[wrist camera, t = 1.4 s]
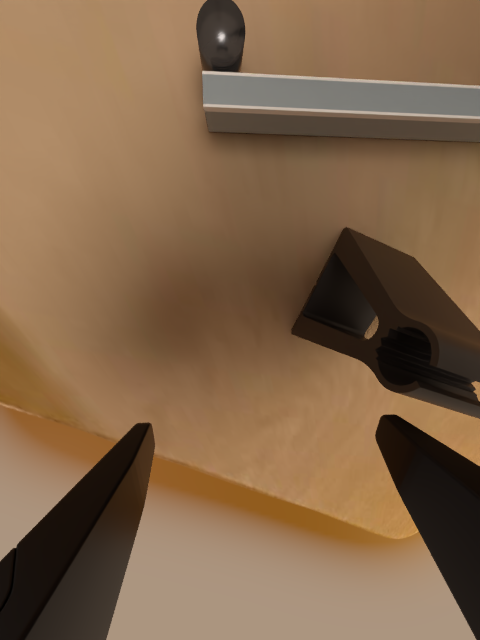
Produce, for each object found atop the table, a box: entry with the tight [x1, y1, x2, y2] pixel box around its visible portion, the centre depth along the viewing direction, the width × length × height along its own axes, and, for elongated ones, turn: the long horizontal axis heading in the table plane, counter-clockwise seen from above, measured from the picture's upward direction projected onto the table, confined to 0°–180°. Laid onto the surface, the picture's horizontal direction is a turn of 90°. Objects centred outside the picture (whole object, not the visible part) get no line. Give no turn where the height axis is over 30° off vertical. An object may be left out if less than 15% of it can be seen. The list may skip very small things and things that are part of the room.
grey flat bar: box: [202, 71, 480, 142], centre depth 14 cm, size 18×1×4 cm, turn 89°
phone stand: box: [291, 227, 480, 419], centre depth 15 cm, size 9×6×12 cm, turn 158°
